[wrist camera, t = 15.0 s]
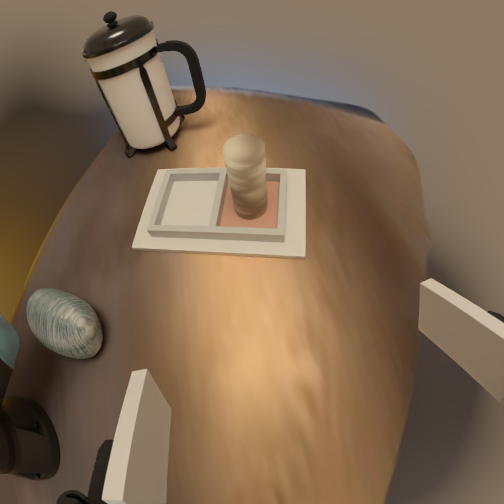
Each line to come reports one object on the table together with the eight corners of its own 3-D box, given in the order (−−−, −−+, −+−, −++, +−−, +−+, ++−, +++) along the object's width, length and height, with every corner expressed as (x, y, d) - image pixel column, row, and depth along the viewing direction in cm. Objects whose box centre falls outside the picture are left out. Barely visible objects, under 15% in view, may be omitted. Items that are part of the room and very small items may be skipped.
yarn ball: (25, 337, 34) (5, 300, 28) (57, 299, 41) (46, 259, 35) (87, 385, 34) (72, 357, 27) (117, 340, 41) (113, 304, 35)
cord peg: (231, 218, 43) (219, 161, 32) (236, 192, 45) (226, 133, 34) (265, 220, 42) (262, 162, 32) (268, 193, 45) (266, 134, 34)
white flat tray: (133, 250, 43) (126, 241, 41) (159, 172, 50) (154, 162, 48) (304, 259, 40) (306, 249, 38) (305, 172, 47) (305, 161, 45)
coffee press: (142, 176, 50) (74, 37, 24) (115, 142, 57) (61, 32, 30) (216, 129, 54) (186, -11, 28) (178, 103, 61) (145, -8, 34)
